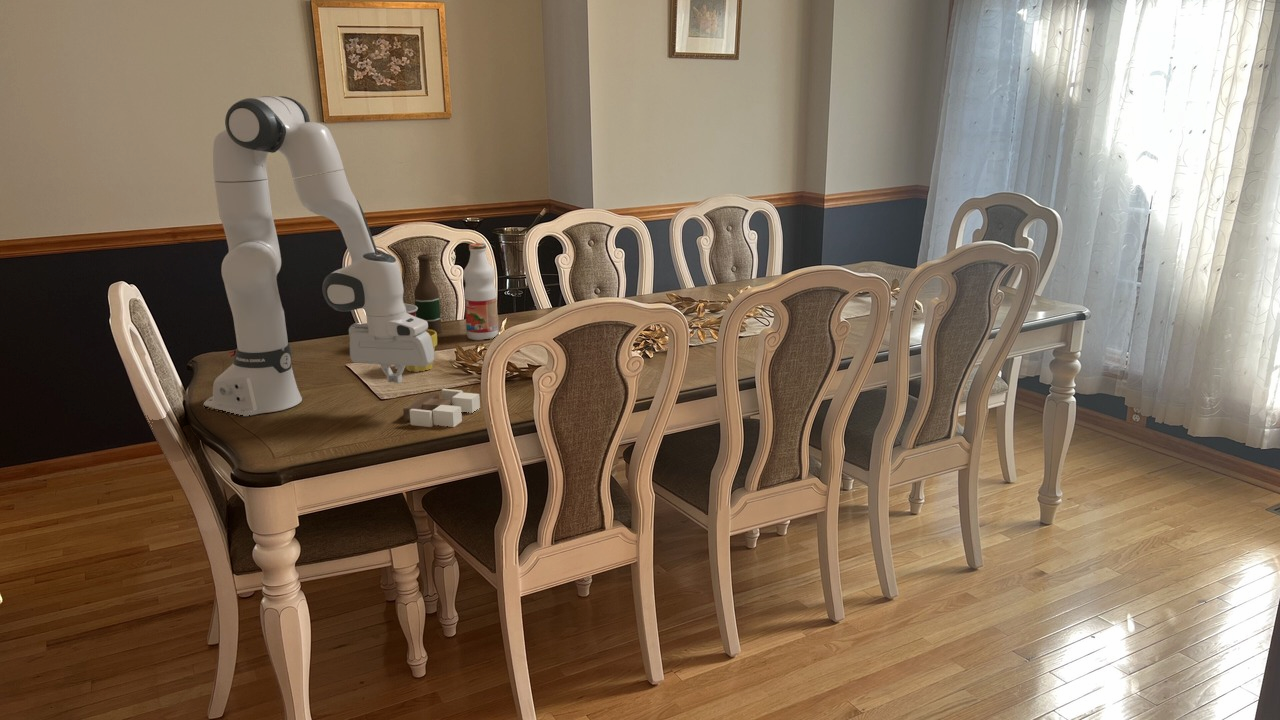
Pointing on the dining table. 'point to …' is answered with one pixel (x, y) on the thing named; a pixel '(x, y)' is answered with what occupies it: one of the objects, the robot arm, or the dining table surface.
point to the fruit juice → (480, 295)
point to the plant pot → (434, 342)
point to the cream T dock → (447, 410)
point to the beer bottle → (427, 296)
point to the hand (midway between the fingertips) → (395, 381)
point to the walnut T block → (425, 404)
